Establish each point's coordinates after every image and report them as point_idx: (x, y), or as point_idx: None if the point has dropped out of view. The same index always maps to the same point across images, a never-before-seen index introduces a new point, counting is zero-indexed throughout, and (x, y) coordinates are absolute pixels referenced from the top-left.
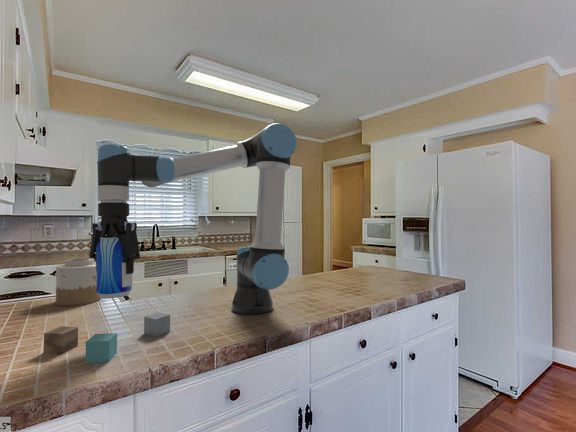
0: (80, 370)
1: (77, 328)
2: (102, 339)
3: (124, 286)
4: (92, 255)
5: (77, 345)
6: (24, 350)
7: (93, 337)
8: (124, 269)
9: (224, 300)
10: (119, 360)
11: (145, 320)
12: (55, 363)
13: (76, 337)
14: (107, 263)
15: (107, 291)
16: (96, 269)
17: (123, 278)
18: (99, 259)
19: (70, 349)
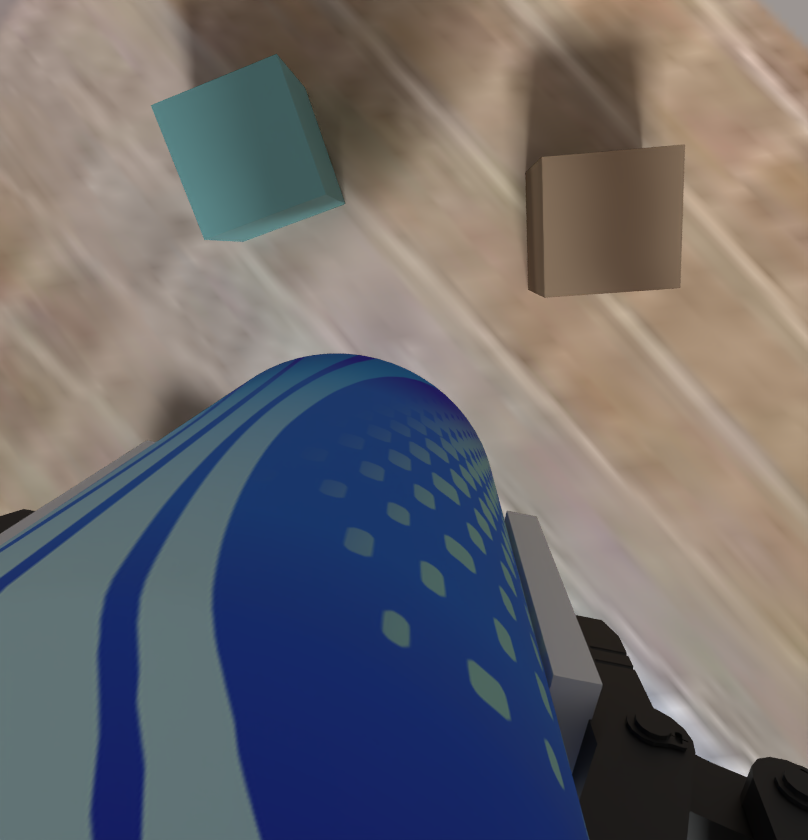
0: (264, 5)
1: (543, 290)
2: (206, 115)
3: (142, 444)
4: (768, 795)
5: (528, 285)
6: (790, 175)
7: (289, 135)
8: (33, 519)
9: None
10: (160, 156)
11: None
12: (463, 54)
13: (535, 280)
14: (171, 444)
15: (290, 363)
16: (609, 638)
17: (109, 470)
18: (325, 470)
19: (527, 232)
